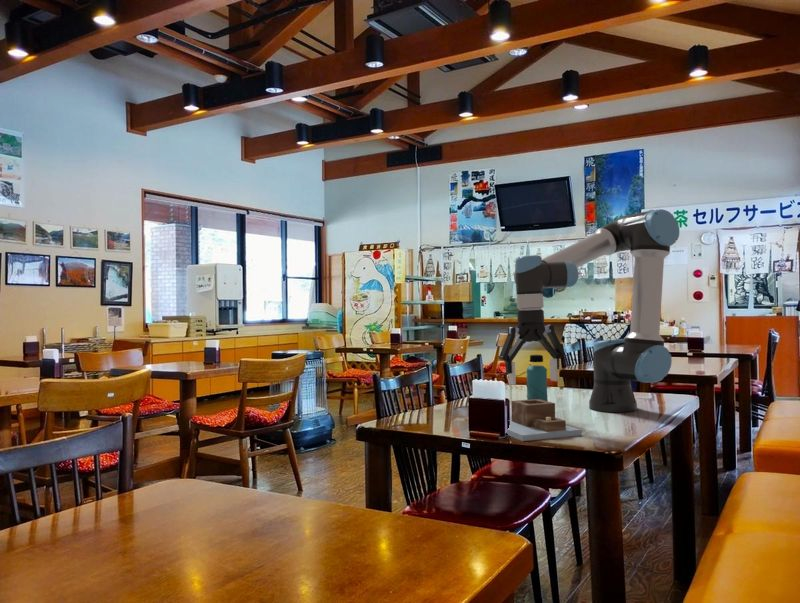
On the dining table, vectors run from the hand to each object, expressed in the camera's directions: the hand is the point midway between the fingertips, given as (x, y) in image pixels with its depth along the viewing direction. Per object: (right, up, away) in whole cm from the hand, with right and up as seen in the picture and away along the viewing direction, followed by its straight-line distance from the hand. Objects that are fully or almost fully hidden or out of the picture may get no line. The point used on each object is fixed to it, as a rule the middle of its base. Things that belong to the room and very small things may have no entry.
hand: (533, 382), depth 177 cm
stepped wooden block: (+1, -11, -4) cm, 12 cm away
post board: (-1, -13, -5) cm, 14 cm away
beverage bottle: (+4, -13, +13) cm, 19 cm away
